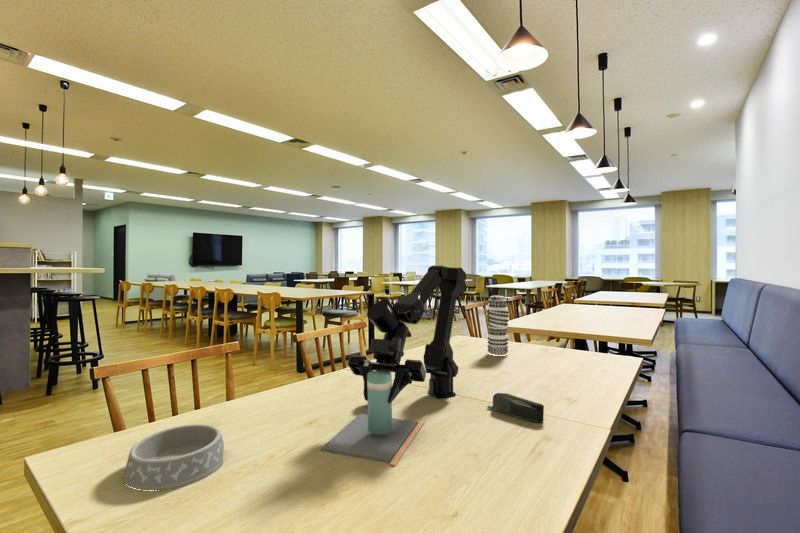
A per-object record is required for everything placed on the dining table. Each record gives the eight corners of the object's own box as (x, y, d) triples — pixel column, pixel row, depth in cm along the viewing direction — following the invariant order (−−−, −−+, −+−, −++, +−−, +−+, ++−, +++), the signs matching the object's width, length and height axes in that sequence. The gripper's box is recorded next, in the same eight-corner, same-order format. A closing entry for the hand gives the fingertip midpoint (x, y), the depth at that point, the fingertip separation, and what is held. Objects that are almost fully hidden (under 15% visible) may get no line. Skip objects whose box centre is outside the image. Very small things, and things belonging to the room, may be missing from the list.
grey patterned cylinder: (487, 356, 165) (487, 297, 165) (486, 351, 174) (486, 294, 174) (509, 357, 164) (510, 297, 163) (507, 352, 173) (507, 295, 172)
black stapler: (545, 402, 100) (491, 388, 110) (540, 406, 98) (486, 391, 108) (544, 422, 101) (491, 406, 110) (540, 425, 98) (485, 409, 108)
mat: (417, 423, 99) (417, 421, 99) (389, 462, 81) (389, 460, 81) (359, 415, 105) (359, 413, 105) (320, 450, 86) (320, 448, 86)
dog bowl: (115, 502, 68) (114, 472, 68) (137, 454, 85) (137, 429, 85) (223, 480, 75) (223, 452, 75) (224, 439, 92) (224, 416, 92)
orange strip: (420, 421, 100) (420, 420, 100) (424, 422, 100) (424, 421, 100) (389, 465, 79) (389, 463, 79) (395, 466, 79) (395, 464, 79)
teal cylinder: (386, 422, 96) (386, 369, 95) (395, 432, 91) (395, 375, 90) (364, 426, 94) (363, 372, 93) (372, 436, 88) (371, 379, 88)
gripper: (350, 322, 98) (328, 380, 88) (422, 326, 92) (408, 388, 82) (363, 347, 106) (345, 402, 96) (431, 352, 100) (419, 411, 90)
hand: (377, 401), depth 91 cm, fingers closed on teal cylinder, 5 cm apart
